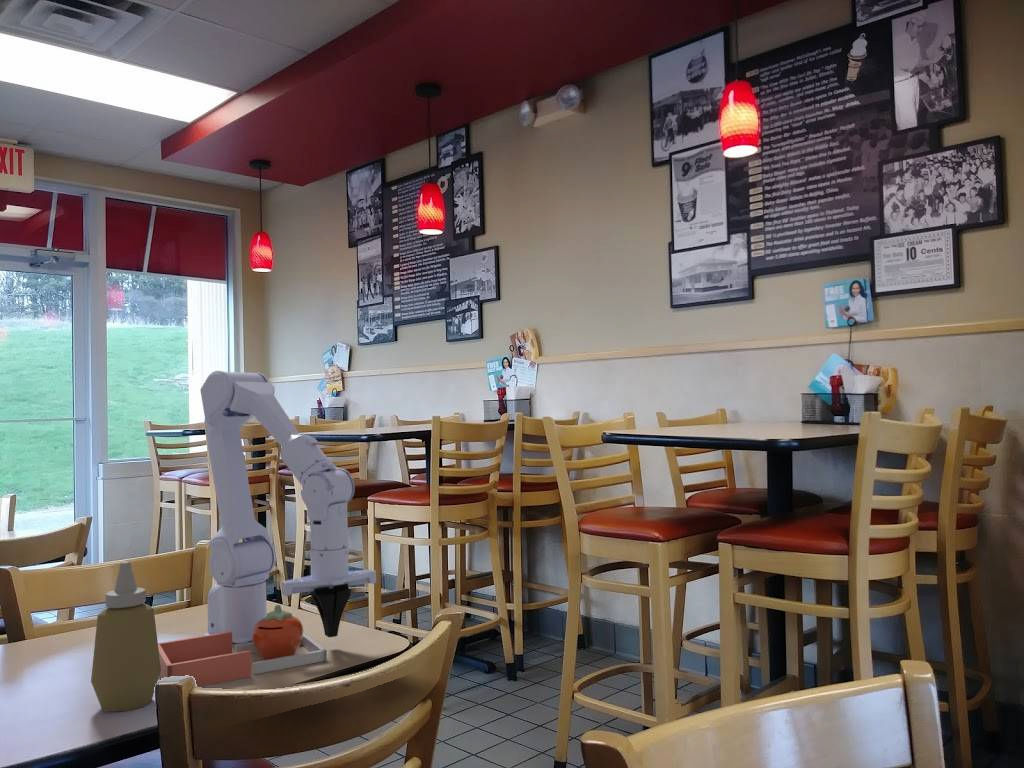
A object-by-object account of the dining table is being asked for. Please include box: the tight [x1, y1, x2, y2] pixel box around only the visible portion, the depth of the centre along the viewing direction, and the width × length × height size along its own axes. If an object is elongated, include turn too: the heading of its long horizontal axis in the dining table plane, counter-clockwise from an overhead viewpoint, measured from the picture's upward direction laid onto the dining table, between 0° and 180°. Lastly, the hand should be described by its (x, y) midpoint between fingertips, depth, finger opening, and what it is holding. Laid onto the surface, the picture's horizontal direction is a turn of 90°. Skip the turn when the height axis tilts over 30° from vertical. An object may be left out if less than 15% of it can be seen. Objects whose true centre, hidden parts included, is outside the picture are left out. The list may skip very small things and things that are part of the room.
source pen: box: [235, 633, 328, 675], centre depth 120 cm, size 11×11×2 cm
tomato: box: [252, 604, 304, 660], centre depth 120 cm, size 7×7×8 cm
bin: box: [158, 631, 252, 687], centre depth 114 cm, size 11×13×4 cm
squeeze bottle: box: [90, 561, 161, 712], centre depth 102 cm, size 8×8×18 cm
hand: (331, 635), depth 124 cm, fingers closed
